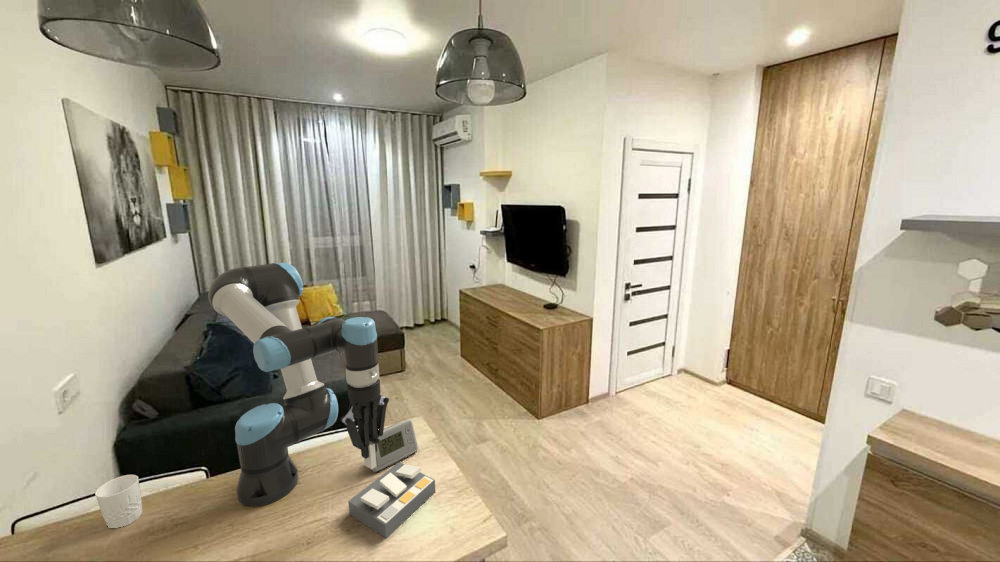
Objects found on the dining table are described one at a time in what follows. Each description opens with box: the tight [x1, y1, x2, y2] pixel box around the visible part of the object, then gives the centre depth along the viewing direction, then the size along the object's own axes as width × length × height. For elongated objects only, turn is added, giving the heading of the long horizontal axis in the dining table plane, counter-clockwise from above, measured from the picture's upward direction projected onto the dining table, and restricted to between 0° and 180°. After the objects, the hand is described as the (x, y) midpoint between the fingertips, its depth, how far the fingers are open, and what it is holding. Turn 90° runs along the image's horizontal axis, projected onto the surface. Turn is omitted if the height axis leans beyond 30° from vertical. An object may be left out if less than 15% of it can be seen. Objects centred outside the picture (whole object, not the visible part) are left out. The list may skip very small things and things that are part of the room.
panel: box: [347, 461, 436, 539], centre depth 105 cm, size 14×18×5 cm
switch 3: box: [396, 464, 422, 479], centre depth 110 cm, size 6×4×2 cm, turn 58°
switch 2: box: [379, 472, 407, 497], centre depth 105 cm, size 6×4×2 cm, turn 58°
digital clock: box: [371, 418, 419, 473], centre depth 123 cm, size 16×9×11 cm, turn 122°
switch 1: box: [361, 488, 389, 510], centre depth 100 cm, size 6×4×2 cm, turn 58°
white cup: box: [94, 474, 144, 529], centre depth 99 cm, size 8×8×10 cm
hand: (370, 465), depth 99 cm, fingers closed
